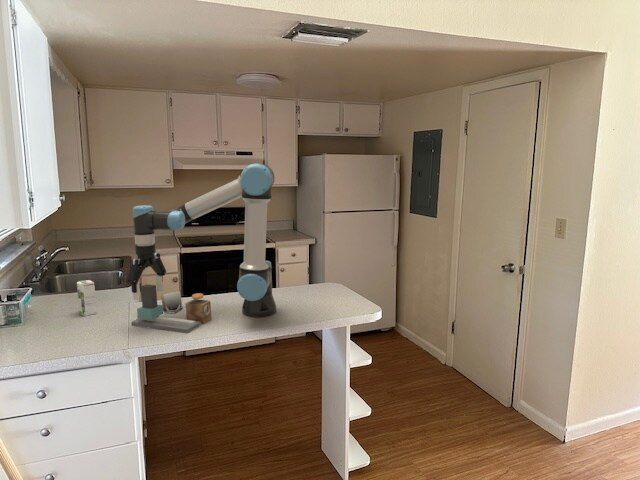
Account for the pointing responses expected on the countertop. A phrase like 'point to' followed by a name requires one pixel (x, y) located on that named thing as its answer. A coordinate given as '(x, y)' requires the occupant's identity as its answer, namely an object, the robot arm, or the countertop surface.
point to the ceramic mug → (171, 301)
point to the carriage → (149, 303)
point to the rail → (167, 324)
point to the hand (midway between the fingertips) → (148, 295)
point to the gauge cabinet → (198, 310)
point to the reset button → (197, 296)
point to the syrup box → (86, 297)
